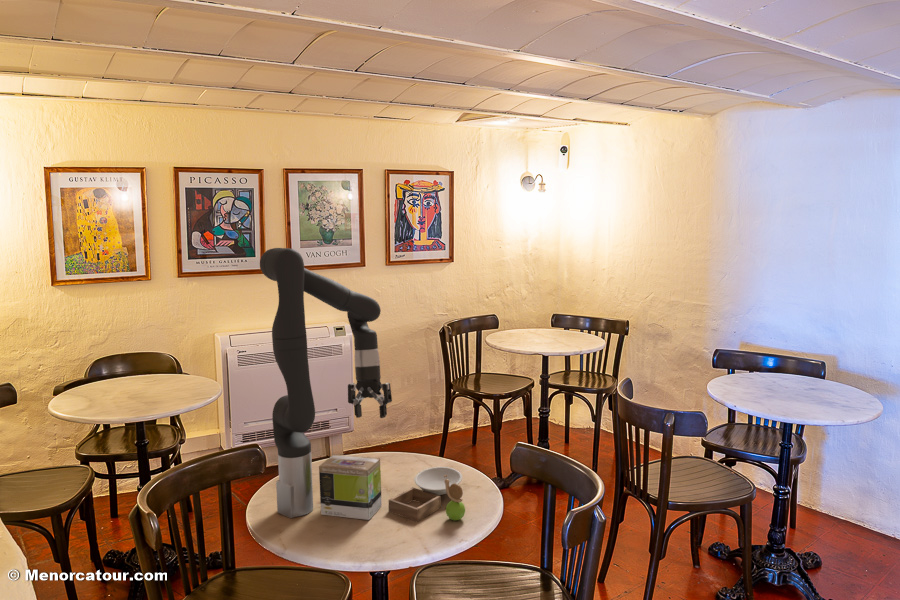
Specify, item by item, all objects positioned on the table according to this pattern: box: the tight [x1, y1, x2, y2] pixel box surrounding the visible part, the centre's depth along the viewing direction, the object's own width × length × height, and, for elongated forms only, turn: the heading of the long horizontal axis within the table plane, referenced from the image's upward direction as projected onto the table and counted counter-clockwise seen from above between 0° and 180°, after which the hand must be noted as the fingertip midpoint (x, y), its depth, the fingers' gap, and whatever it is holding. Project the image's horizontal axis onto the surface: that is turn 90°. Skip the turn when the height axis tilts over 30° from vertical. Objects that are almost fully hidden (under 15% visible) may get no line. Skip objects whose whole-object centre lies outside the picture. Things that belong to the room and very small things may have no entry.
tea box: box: [318, 454, 382, 521], centre depth 181 cm, size 15×10×15 cm, turn 74°
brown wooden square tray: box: [388, 487, 442, 522], centre depth 182 cm, size 11×11×4 cm
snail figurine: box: [444, 474, 466, 521], centre depth 175 cm, size 5×6×12 cm
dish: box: [414, 466, 463, 496], centre depth 192 cm, size 18×14×5 cm
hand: (370, 417), depth 193 cm, fingers open, 8 cm apart
